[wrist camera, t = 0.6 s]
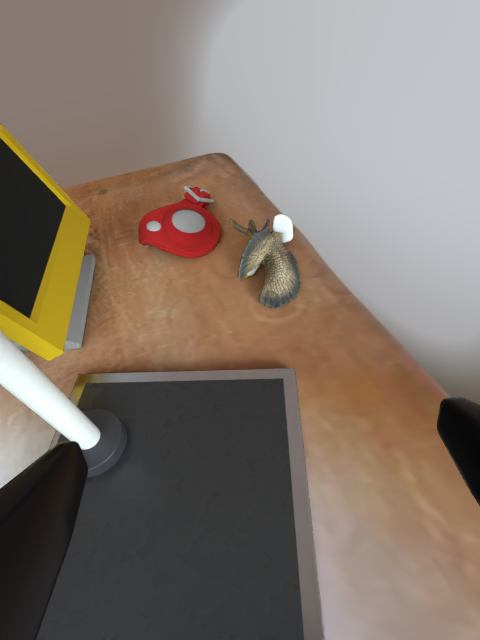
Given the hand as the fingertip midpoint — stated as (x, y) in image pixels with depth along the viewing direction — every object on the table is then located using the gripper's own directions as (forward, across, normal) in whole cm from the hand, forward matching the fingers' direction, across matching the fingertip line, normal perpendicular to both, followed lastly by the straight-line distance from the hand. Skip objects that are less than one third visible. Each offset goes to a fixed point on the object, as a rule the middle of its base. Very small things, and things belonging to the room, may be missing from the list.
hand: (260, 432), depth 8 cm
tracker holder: (+36, +5, +1) cm, 37 cm away
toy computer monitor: (+26, +19, +5) cm, 33 cm away
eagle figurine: (+27, -3, +5) cm, 28 cm away
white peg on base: (+12, +11, +10) cm, 19 cm away
